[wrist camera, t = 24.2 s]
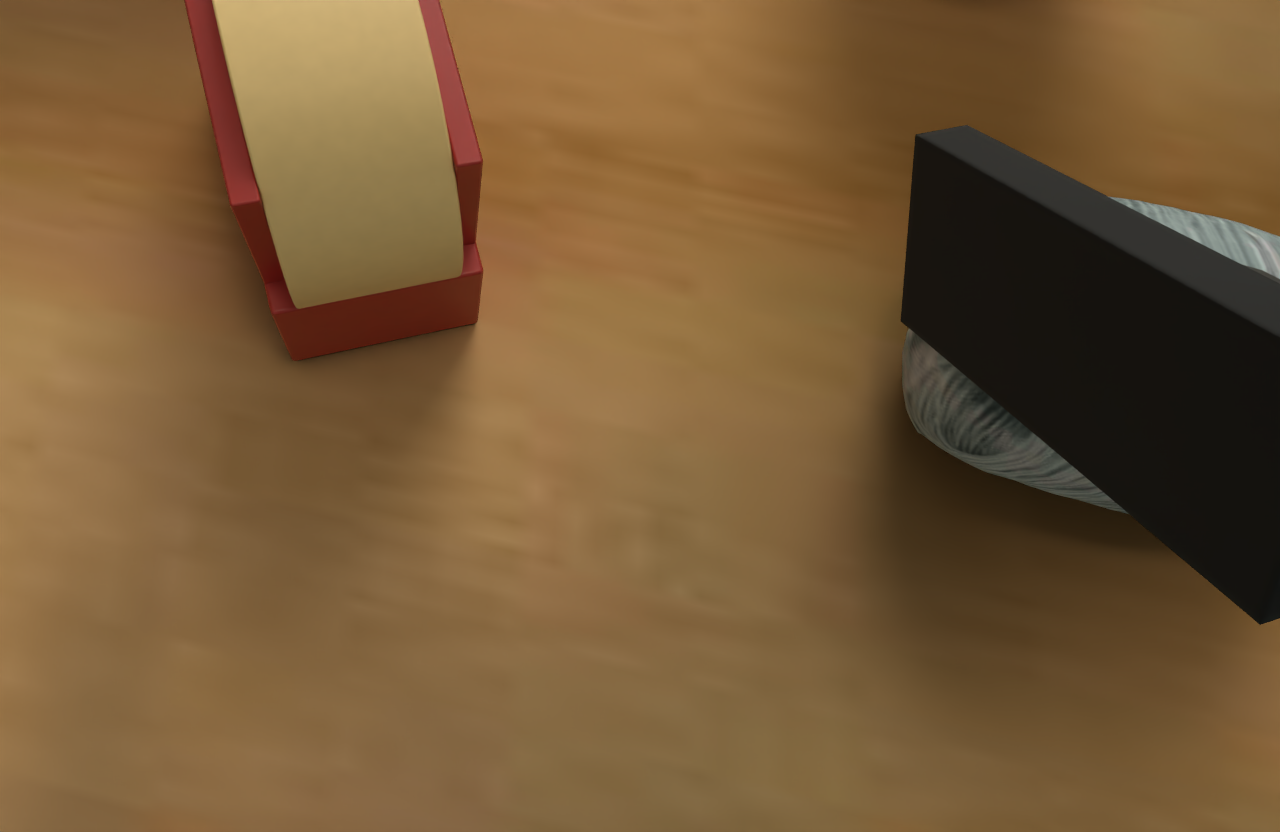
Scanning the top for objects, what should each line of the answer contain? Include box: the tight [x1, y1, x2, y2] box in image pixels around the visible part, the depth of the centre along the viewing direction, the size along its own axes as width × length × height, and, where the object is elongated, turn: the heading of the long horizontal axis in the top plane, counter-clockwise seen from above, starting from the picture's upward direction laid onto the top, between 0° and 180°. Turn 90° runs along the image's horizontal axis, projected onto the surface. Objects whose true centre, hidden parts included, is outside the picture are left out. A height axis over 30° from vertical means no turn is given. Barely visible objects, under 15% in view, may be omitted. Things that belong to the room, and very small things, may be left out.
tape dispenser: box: [184, 0, 483, 361], centre depth 26 cm, size 5×9×10 cm, turn 16°
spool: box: [902, 197, 1280, 514], centre depth 30 cm, size 14×10×10 cm
